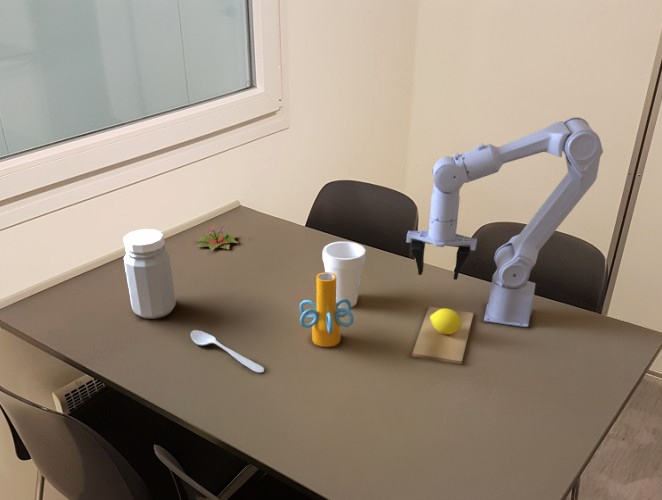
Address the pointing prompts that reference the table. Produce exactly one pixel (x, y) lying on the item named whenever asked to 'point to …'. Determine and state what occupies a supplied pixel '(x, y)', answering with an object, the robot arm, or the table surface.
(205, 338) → the spoon
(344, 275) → the foam cup
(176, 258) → the table surface
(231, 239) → the lily flower
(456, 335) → the birch board
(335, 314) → the cylinder
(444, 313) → the lemon
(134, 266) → the jar
